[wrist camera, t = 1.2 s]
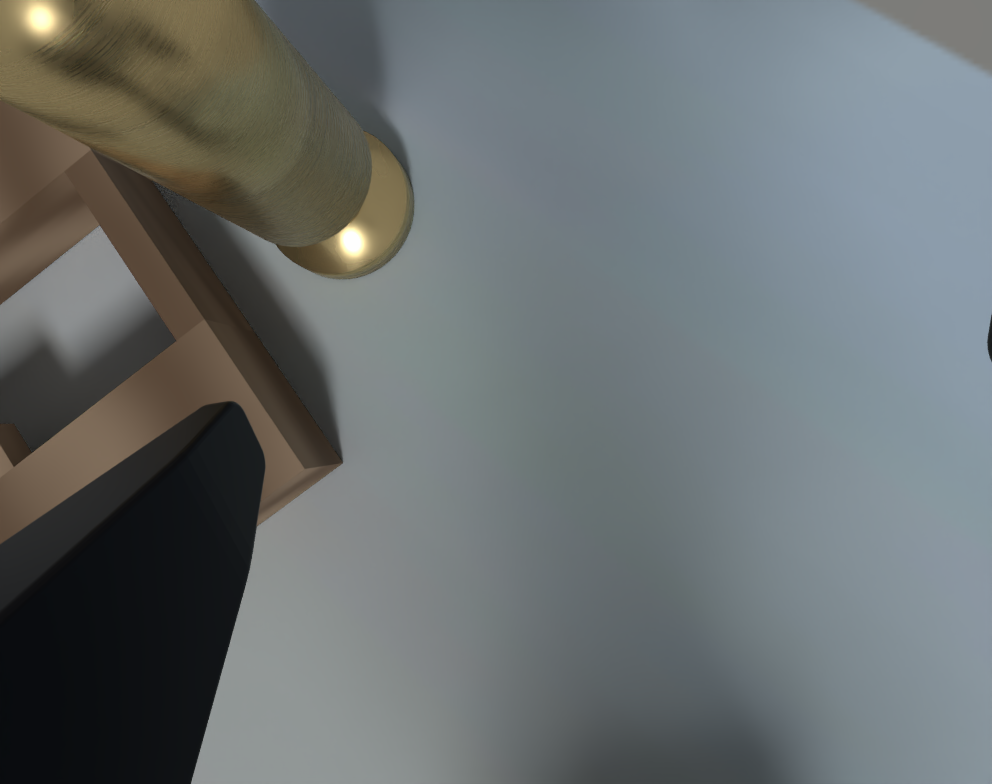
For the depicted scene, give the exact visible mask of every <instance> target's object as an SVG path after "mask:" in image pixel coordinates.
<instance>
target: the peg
mask: <svg viewBox="0 0 992 784" xmlns="http://www.w3.org/2000/svg"><path fill="white" fill-rule="evenodd" d="M0 100H1V101H3V102H5V103H6V104H8V105H10V106H12V107H14V108H16V109H18V110H20V111H22V112H24V113H25V114H27V115H29V116H31V117H33V118H35V119H37V120H39V121H41V122H42V123H44V124H46V125H48V126H50V127H52V128H54V129H56V130H58V131H60V132H61V133H63V134H65V135H67V136H69V137H71V138H73V139H75V140H77V141H79V142H80V143H82V144H84V145H86V146H88V147H90V148H92V149H94V150H96V151H97V152H99V153H101V154H103V155H105V156H107V157H109V158H111V159H113V160H115V161H116V162H118V163H120V164H122V165H124V166H126V167H128V168H130V169H132V170H134V171H135V172H137V173H139V174H141V175H143V176H145V177H147V178H149V179H151V180H153V181H154V182H156V183H158V184H160V185H162V186H164V187H166V188H168V189H170V190H171V191H173V192H175V193H177V194H179V195H181V196H183V197H185V198H187V199H189V200H190V201H192V202H194V203H196V204H198V205H200V206H202V207H204V208H206V209H208V210H209V211H211V212H213V213H215V214H217V215H219V216H221V217H223V218H225V219H226V220H228V221H230V222H232V223H234V224H236V225H238V226H240V227H242V228H244V229H245V230H247V231H249V232H251V233H253V234H255V235H257V236H259V237H261V238H263V239H264V240H267V241H269V242H272V243H274V244H276V245H277V247H278V248H279V250H280V251H281V252H282V253H283V254H284V255H285V256H286V257H288V258H289V259H290V260H291V261H293V262H294V263H296V264H298V265H299V266H301V267H303V268H305V269H307V270H309V271H311V272H313V273H316V274H318V275H320V276H323V277H327V278H332V279H353V278H358V277H362V276H365V275H367V274H370V273H372V272H374V271H376V270H378V269H379V268H381V267H382V266H384V265H385V264H386V263H387V262H389V261H390V260H391V259H392V258H393V257H394V256H395V255H396V254H397V252H398V251H399V250H400V248H401V247H402V245H403V244H404V242H405V240H406V238H407V236H408V234H409V231H410V228H411V225H412V221H413V215H414V196H413V190H412V186H411V183H410V180H409V178H408V175H407V173H406V172H405V170H404V168H403V167H402V165H401V164H400V163H399V161H398V160H397V159H396V157H395V156H394V155H393V154H392V153H391V151H390V150H389V149H388V148H387V147H386V146H385V145H384V144H383V143H382V142H381V141H380V140H378V139H377V138H376V137H374V136H372V135H371V134H369V133H367V132H365V131H362V129H361V127H360V126H359V124H358V123H357V122H356V120H355V119H354V118H353V117H352V116H351V114H350V113H349V112H348V111H347V110H346V108H345V107H344V106H343V105H342V104H341V102H340V101H339V100H338V99H337V98H336V96H335V95H334V94H333V93H332V92H331V91H330V89H329V88H328V87H327V86H326V85H325V83H324V82H323V81H322V80H321V79H320V77H319V76H318V75H317V74H316V73H315V72H314V70H313V69H312V68H311V67H310V66H309V64H308V63H307V62H306V61H305V60H304V58H303V57H302V56H301V55H300V54H299V53H298V51H297V50H296V49H295V48H294V47H293V45H292V44H291V43H290V42H289V41H288V39H287V38H286V37H285V36H284V35H283V34H282V32H281V31H280V30H279V29H278V28H277V26H276V25H275V24H274V23H273V22H272V20H271V19H270V18H269V17H268V16H267V15H266V13H265V12H264V11H263V10H262V9H261V7H260V6H259V5H258V4H257V3H256V1H255V0H0Z"/></svg>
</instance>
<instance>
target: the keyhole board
mask: <svg viewBox="0 0 992 784" xmlns="http://www.w3.org/2000/svg"><path fill="white" fill-rule="evenodd" d="M99 225H100V226H101V228H102V229H103V231H104V232H105V234H106V235H107V237H108V238H109V240H110V241H111V243H112V244H113V246H114V247H115V249H116V250H117V252H118V253H119V255H120V256H121V258H122V259H123V261H124V262H125V264H126V265H127V267H128V268H129V270H130V272H131V273H132V275H133V276H134V278H135V279H136V281H137V282H138V284H139V285H140V287H141V288H142V290H143V291H144V293H145V294H146V296H147V297H148V299H149V300H150V302H151V303H152V305H153V306H154V308H155V309H156V311H157V312H158V314H159V315H160V317H161V318H162V320H163V321H164V323H165V324H166V326H167V327H168V329H169V330H170V332H171V333H172V335H173V337H174V338H175V340H176V342H174V343H173V344H172V345H170V346H169V347H168V348H167V349H165V350H164V351H163V352H161V353H160V354H159V355H158V356H156V357H155V358H154V359H152V360H151V361H150V362H149V363H147V364H146V365H145V366H143V367H142V368H141V369H140V370H138V371H137V372H136V373H134V374H133V375H132V376H131V377H129V378H128V379H127V380H125V381H124V382H123V383H121V384H120V385H119V386H118V387H116V388H115V389H114V390H112V391H111V392H110V393H109V394H107V395H106V396H105V397H103V398H102V399H101V400H100V401H98V402H97V403H96V404H94V405H93V406H92V407H91V408H89V409H88V410H87V411H85V412H84V413H83V414H82V415H80V416H79V417H78V418H76V419H75V420H74V421H73V422H71V423H70V424H69V425H67V426H66V427H65V428H63V429H62V430H61V431H60V432H58V433H57V434H56V435H54V436H53V437H52V438H51V439H49V440H48V441H47V442H45V443H44V444H43V445H42V446H40V447H39V448H38V449H36V450H35V451H34V452H33V453H32V452H31V450H30V449H29V447H28V446H27V444H26V442H25V441H24V439H23V438H22V436H21V434H20V433H19V431H18V430H17V428H16V426H15V425H14V424H0V544H1V543H2V542H4V541H5V540H7V539H8V538H10V537H11V536H13V535H14V534H16V533H17V532H19V531H20V530H22V529H23V528H24V527H26V526H27V525H29V524H30V523H32V522H33V521H35V520H36V519H38V518H39V517H41V516H42V515H44V514H45V513H46V512H48V511H49V510H51V509H52V508H54V507H55V506H57V505H58V504H60V503H61V502H63V501H64V500H66V499H67V498H68V497H70V496H71V495H73V494H74V493H76V492H77V491H79V490H80V489H82V488H83V487H85V486H86V485H88V484H89V483H90V482H92V481H93V480H95V479H96V478H98V477H99V476H101V475H102V474H104V473H105V472H107V471H108V470H110V469H111V468H112V467H114V466H115V465H117V464H118V463H120V462H121V461H123V460H124V459H126V458H127V457H129V456H130V455H132V454H133V453H134V452H136V451H137V450H139V449H140V448H142V447H143V446H145V445H146V444H148V443H149V442H151V441H152V440H154V439H155V438H156V437H158V436H159V435H161V434H162V433H164V432H165V431H167V430H168V429H170V428H171V427H173V426H174V425H176V424H177V423H178V422H180V421H181V420H183V419H184V418H186V417H187V416H189V415H190V414H192V413H193V412H195V411H196V410H198V409H199V408H200V407H202V406H204V405H207V404H213V403H220V402H226V401H234V402H236V403H238V404H239V405H240V406H241V407H242V408H243V410H244V412H245V414H246V416H247V418H248V420H249V422H250V424H251V426H252V429H253V431H254V433H255V435H256V437H257V439H258V441H259V443H260V445H261V447H262V450H263V453H264V456H265V465H266V468H265V476H264V482H263V489H262V495H261V502H260V508H259V515H258V521H257V526H258V525H259V524H261V523H262V522H264V521H265V520H266V519H268V518H269V517H270V516H272V515H273V514H274V513H276V512H277V511H278V510H280V509H281V508H283V507H284V506H285V505H287V504H288V503H289V502H291V501H292V500H293V499H295V498H296V497H298V496H299V495H300V494H302V493H303V492H304V491H306V490H307V489H308V488H310V487H311V486H312V485H314V484H315V483H317V482H318V481H319V480H321V479H322V478H323V477H325V476H326V475H327V474H329V473H330V472H331V471H333V470H334V469H336V468H337V467H338V466H340V465H341V464H342V463H343V462H342V461H341V459H340V458H339V456H338V455H337V453H336V452H335V451H334V449H333V448H332V446H331V445H330V443H329V442H328V440H327V439H326V437H325V436H324V434H323V433H322V431H321V430H320V428H319V427H318V425H317V424H316V422H315V421H314V419H313V418H312V417H311V415H310V414H309V412H308V411H307V409H306V408H305V406H304V405H303V403H302V402H301V400H300V399H299V397H298V396H297V394H296V393H295V391H294V390H293V388H292V387H291V386H290V384H289V383H288V381H287V380H286V378H285V377H284V375H283V374H282V372H281V371H280V369H279V368H278V366H277V365H276V363H275V362H274V360H273V359H272V357H271V356H270V354H269V353H268V352H267V350H266V349H265V347H264V346H263V344H262V343H261V341H260V340H259V338H258V337H257V335H256V334H255V332H254V331H253V329H252V328H251V326H250V325H249V323H248V322H247V321H246V319H245V318H244V316H243V315H242V313H241V312H240V310H239V309H238V307H237V306H236V304H235V303H234V301H233V300H232V298H231V297H230V295H229V294H228V292H227V291H226V289H225V288H224V287H223V285H222V284H221V282H220V281H219V279H218V278H217V276H216V275H215V273H214V272H213V270H212V269H211V267H210V266H209V264H208V263H207V261H206V260H205V258H204V257H203V256H202V254H201V253H200V251H199V250H198V248H197V247H196V245H195V244H194V242H193V241H192V239H191V238H190V236H189V235H188V233H187V232H186V230H185V229H184V227H183V226H182V224H181V223H180V222H179V220H178V219H177V217H176V216H175V214H174V213H173V211H172V210H171V208H170V207H169V205H168V204H167V202H166V201H165V199H164V198H163V196H162V195H161V193H160V192H159V191H158V189H157V188H156V186H155V185H154V183H153V182H152V180H151V179H149V178H147V177H145V176H143V175H141V174H139V173H137V172H135V171H134V170H132V169H130V168H128V167H126V166H124V165H122V164H120V163H118V162H116V161H115V160H113V159H111V158H109V157H107V156H105V155H103V154H101V153H99V152H97V151H96V150H94V149H92V148H90V147H88V146H86V145H84V144H82V143H80V142H79V141H77V140H75V139H73V138H71V137H69V136H67V135H65V134H63V133H61V132H60V131H58V130H56V129H54V128H52V127H50V126H48V125H46V124H44V123H42V122H41V121H39V120H37V119H35V118H33V117H31V116H29V115H27V114H25V113H24V112H22V111H20V110H18V109H16V108H14V107H12V106H10V105H8V104H6V103H5V102H3V101H1V100H0V305H1V304H2V303H3V302H4V301H6V300H7V299H8V298H9V297H11V296H12V295H13V294H14V293H15V292H17V291H18V290H19V289H20V288H22V287H23V286H24V285H25V284H27V283H28V282H29V281H30V280H32V279H33V278H34V277H35V276H37V275H38V274H39V273H40V272H42V271H43V270H44V269H45V268H47V267H48V266H49V265H50V264H52V263H53V262H54V261H55V260H57V259H58V258H59V257H60V256H61V255H63V254H64V253H65V252H66V251H68V250H69V249H70V248H71V247H73V246H74V245H75V244H76V243H78V242H79V241H80V240H81V239H83V238H84V237H85V236H86V235H88V234H89V233H90V232H91V231H93V230H94V229H95V228H96V227H98V226H99Z"/></svg>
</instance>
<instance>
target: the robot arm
mask: <svg viewBox="0 0 992 784" xmlns="http://www.w3.org/2000/svg"><path fill="white" fill-rule="evenodd" d="M987 343H988V352H989V356H990V359H991V361H992V315H991V321H990V327H989V333H988V341H987ZM265 468H266V465H265V456H264V453H263V450H262V447H261V445H260V443H259V441H258V439H257V437H256V435H255V433H254V431H253V429H252V426H251V424H250V422H249V420H248V418H247V416H246V414H245V412H244V410H243V408H242V407H241V406H240V405H239V404H238V403H236V402H234V401H226V402H220V403H213V404H207V405H204V406H202V407H200V408H199V409H198V410H196V411H195V412H193V413H192V414H190V415H189V416H187V417H186V418H184V419H183V420H181V421H180V422H178V423H177V424H176V425H174V426H173V427H171V428H170V429H168V430H167V431H165V432H164V433H162V434H161V435H159V436H158V437H156V438H155V439H154V440H152V441H151V442H149V443H148V444H146V445H145V446H143V447H142V448H140V449H139V450H137V451H136V452H134V453H133V454H132V455H130V456H129V457H127V458H126V459H124V460H123V461H121V462H120V463H118V464H117V465H115V466H114V467H112V468H111V469H110V470H108V471H107V472H105V473H104V474H102V475H101V476H99V477H98V478H96V479H95V480H93V481H92V482H90V483H89V484H88V485H86V486H85V487H83V488H82V489H80V490H79V491H77V492H76V493H74V494H73V495H71V496H70V497H68V498H67V499H66V500H64V501H63V502H61V503H60V504H58V505H57V506H55V507H54V508H52V509H51V510H49V511H48V512H46V513H45V514H44V515H42V516H41V517H39V518H38V519H36V520H35V521H33V522H32V523H30V524H29V525H27V526H26V527H24V528H23V529H22V530H20V531H19V532H17V533H16V534H14V535H13V536H11V537H10V538H8V539H7V540H5V541H4V542H2V543H1V544H0V784H191V781H192V777H193V774H194V770H195V767H196V763H197V759H198V756H199V752H200V749H201V745H202V741H203V738H204V734H205V730H206V727H207V723H208V720H209V716H210V712H211V709H212V705H213V702H214V698H215V694H216V691H217V687H218V683H219V680H220V676H221V673H222V669H223V665H224V662H225V658H226V655H227V651H228V647H229V644H230V640H231V636H232V633H233V629H234V626H235V622H236V618H237V615H238V611H239V608H240V604H241V600H242V597H243V593H244V589H245V586H246V582H247V578H248V574H249V570H250V564H251V559H252V554H253V548H254V541H255V534H256V528H257V521H258V515H259V508H260V502H261V495H262V489H263V482H264V476H265Z"/></svg>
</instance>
